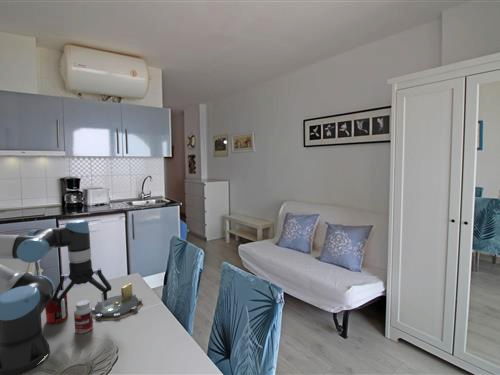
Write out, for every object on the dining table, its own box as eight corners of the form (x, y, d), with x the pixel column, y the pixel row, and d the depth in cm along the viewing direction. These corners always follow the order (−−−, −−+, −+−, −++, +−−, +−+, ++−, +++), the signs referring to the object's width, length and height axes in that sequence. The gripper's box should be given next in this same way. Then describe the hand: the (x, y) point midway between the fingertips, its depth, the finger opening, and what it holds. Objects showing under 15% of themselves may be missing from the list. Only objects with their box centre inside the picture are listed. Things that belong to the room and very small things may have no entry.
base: (143, 313, 126) (143, 313, 126) (89, 325, 117) (89, 324, 117) (139, 294, 145) (139, 293, 145) (92, 303, 136) (92, 302, 136)
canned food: (57, 325, 117) (55, 299, 116) (41, 323, 119) (39, 297, 118) (72, 315, 125) (71, 291, 124) (57, 313, 126) (55, 289, 126)
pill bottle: (73, 335, 110) (71, 307, 109) (77, 326, 116) (75, 300, 115) (91, 332, 112) (89, 305, 111) (94, 324, 118) (93, 298, 117)
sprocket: (151, 300, 137) (150, 285, 136) (117, 323, 117) (116, 305, 117) (117, 294, 144) (116, 279, 144) (79, 314, 125) (78, 297, 124)
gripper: (115, 252, 120) (118, 301, 122) (43, 262, 110) (48, 315, 112) (115, 257, 114) (119, 309, 115) (39, 268, 103) (44, 325, 105)
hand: (84, 312), depth 114 cm, fingers open, 13 cm apart
